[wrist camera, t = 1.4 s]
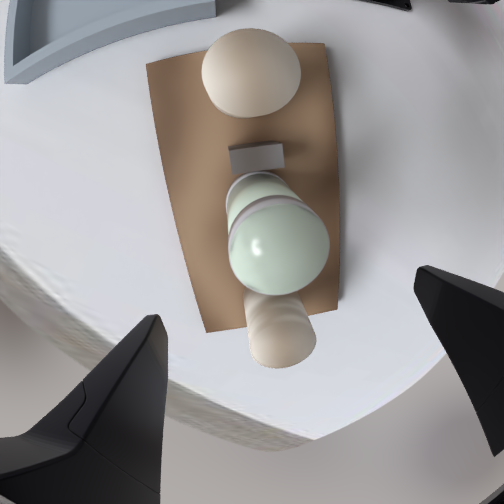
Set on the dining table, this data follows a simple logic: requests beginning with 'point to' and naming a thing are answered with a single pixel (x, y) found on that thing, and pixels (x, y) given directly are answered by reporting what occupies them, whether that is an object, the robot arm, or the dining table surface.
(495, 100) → the dining table surface
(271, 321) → the fuse rack
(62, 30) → the tray
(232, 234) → the cylinder
